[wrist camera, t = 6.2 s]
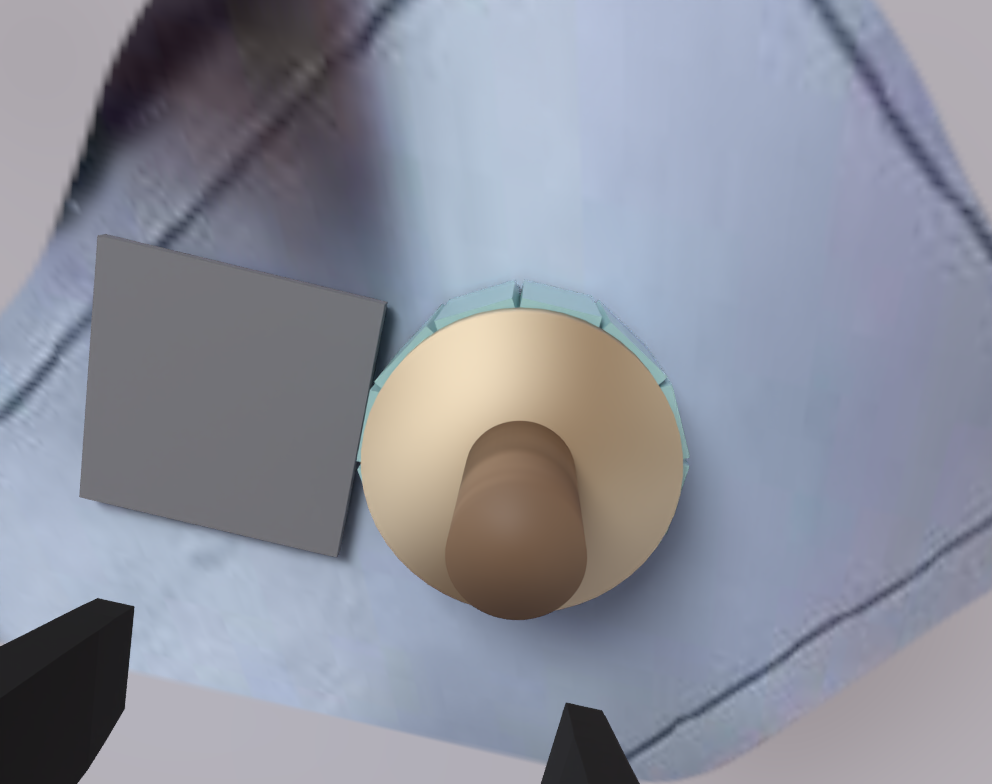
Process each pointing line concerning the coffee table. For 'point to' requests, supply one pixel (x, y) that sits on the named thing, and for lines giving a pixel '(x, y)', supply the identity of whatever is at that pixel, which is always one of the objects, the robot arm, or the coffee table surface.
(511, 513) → the lid
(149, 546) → the coffee table surface
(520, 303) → the bowl
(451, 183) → the coffee table surface
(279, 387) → the mat
